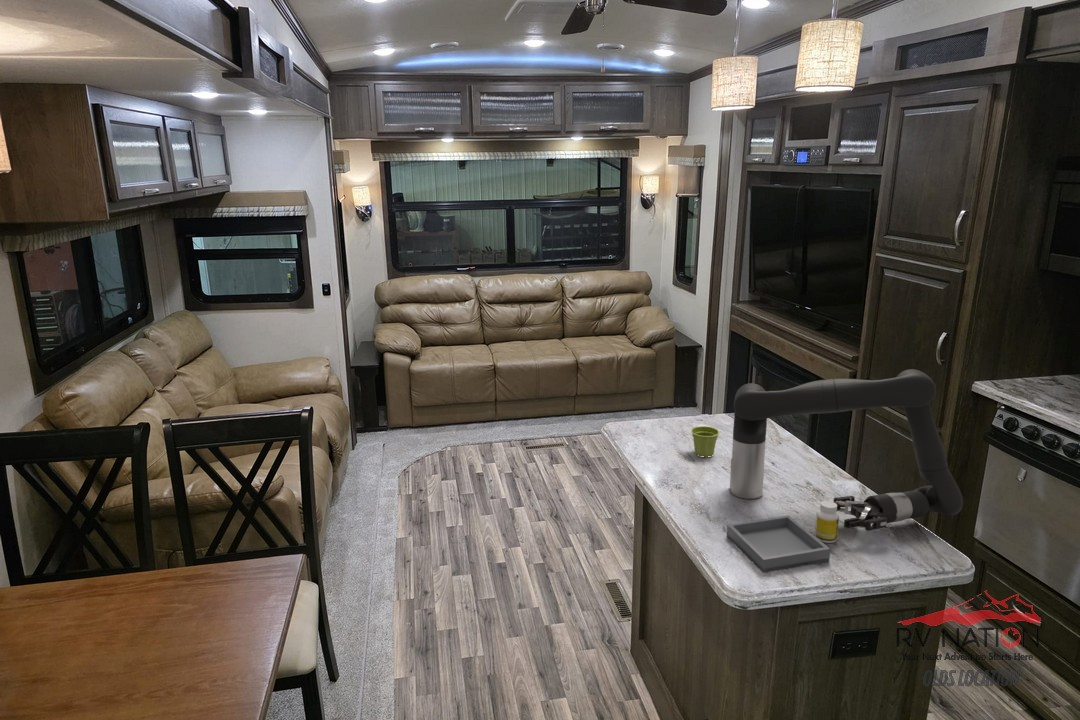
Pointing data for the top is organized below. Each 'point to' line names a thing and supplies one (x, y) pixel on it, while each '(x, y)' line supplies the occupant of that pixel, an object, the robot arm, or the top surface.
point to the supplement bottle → (827, 522)
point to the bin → (777, 543)
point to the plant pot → (704, 440)
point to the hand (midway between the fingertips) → (834, 516)
